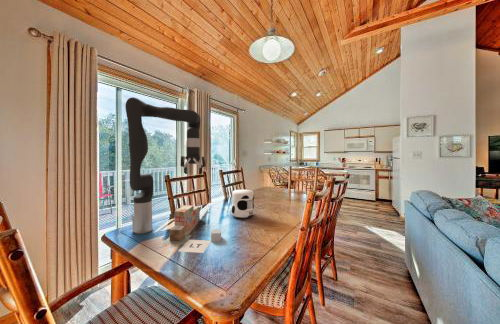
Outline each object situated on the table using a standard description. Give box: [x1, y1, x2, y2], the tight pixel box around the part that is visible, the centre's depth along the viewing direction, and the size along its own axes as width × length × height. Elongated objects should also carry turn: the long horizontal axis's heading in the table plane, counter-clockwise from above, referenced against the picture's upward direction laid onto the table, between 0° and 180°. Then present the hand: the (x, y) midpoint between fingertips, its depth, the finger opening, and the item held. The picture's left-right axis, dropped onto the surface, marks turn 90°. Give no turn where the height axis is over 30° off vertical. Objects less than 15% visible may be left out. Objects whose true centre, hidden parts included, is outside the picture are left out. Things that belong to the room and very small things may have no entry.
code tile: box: [178, 239, 212, 254], centre depth 95 cm, size 12×12×1 cm
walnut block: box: [169, 224, 186, 242], centre depth 102 cm, size 6×6×6 cm
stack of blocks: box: [173, 204, 201, 231], centre depth 123 cm, size 21×6×12 cm, turn 171°
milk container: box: [230, 189, 256, 219], centre depth 141 cm, size 17×17×18 cm
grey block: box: [210, 228, 222, 243], centre depth 103 cm, size 5×5×5 cm
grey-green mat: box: [162, 234, 192, 245], centre depth 103 cm, size 11×11×1 cm
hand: (193, 174), depth 114 cm, fingers open, 8 cm apart
